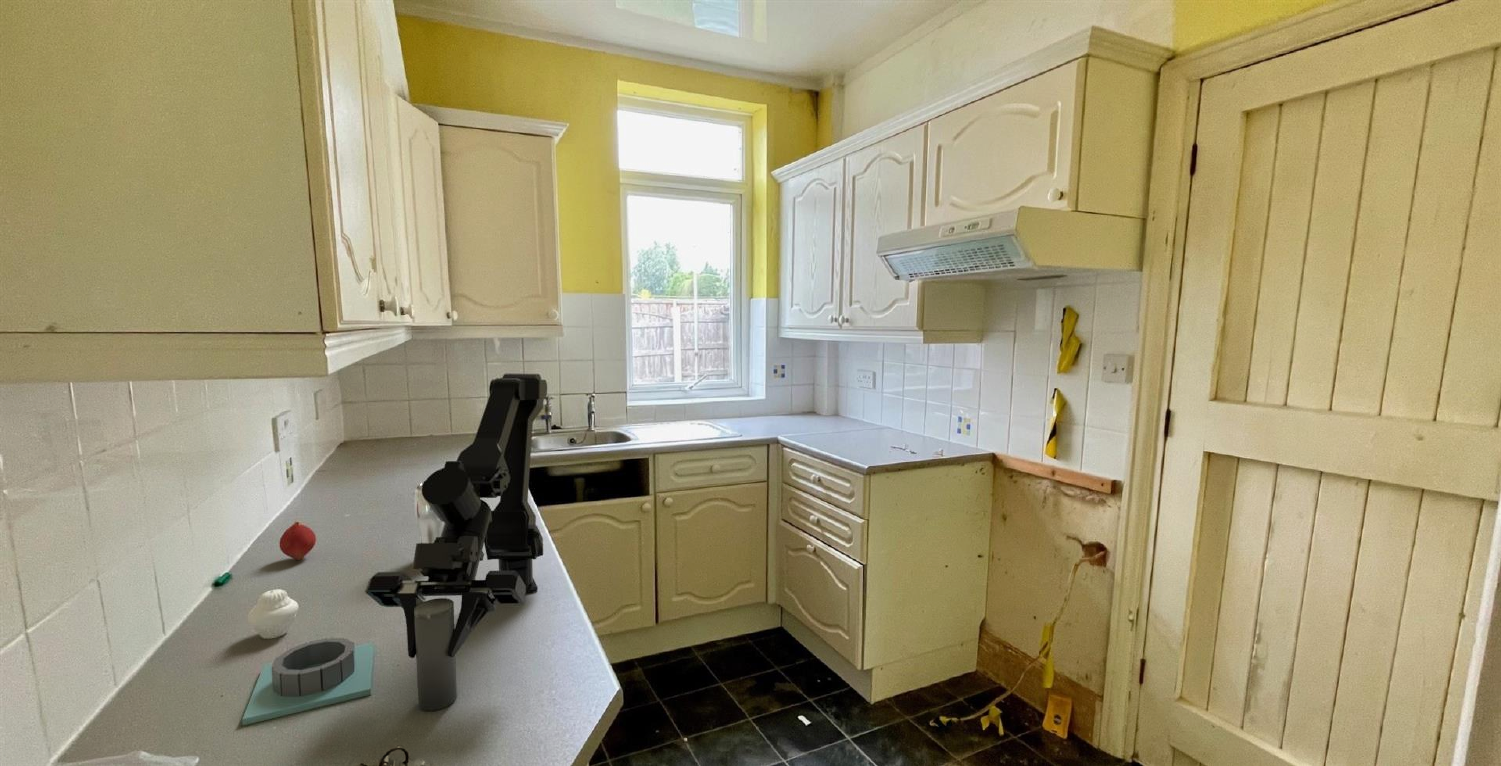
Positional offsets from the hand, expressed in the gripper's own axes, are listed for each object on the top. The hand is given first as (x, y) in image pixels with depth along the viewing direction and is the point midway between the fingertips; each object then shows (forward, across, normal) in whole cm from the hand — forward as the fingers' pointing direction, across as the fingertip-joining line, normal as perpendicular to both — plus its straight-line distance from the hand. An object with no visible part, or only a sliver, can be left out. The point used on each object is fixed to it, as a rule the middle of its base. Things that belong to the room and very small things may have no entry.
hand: (431, 656), depth 76 cm
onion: (-30, -47, +40) cm, 68 cm away
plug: (+4, 0, +6) cm, 7 cm away
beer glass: (-30, -20, +40) cm, 54 cm away
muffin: (-9, -32, +19) cm, 38 cm away
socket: (0, -18, +9) cm, 20 cm away
